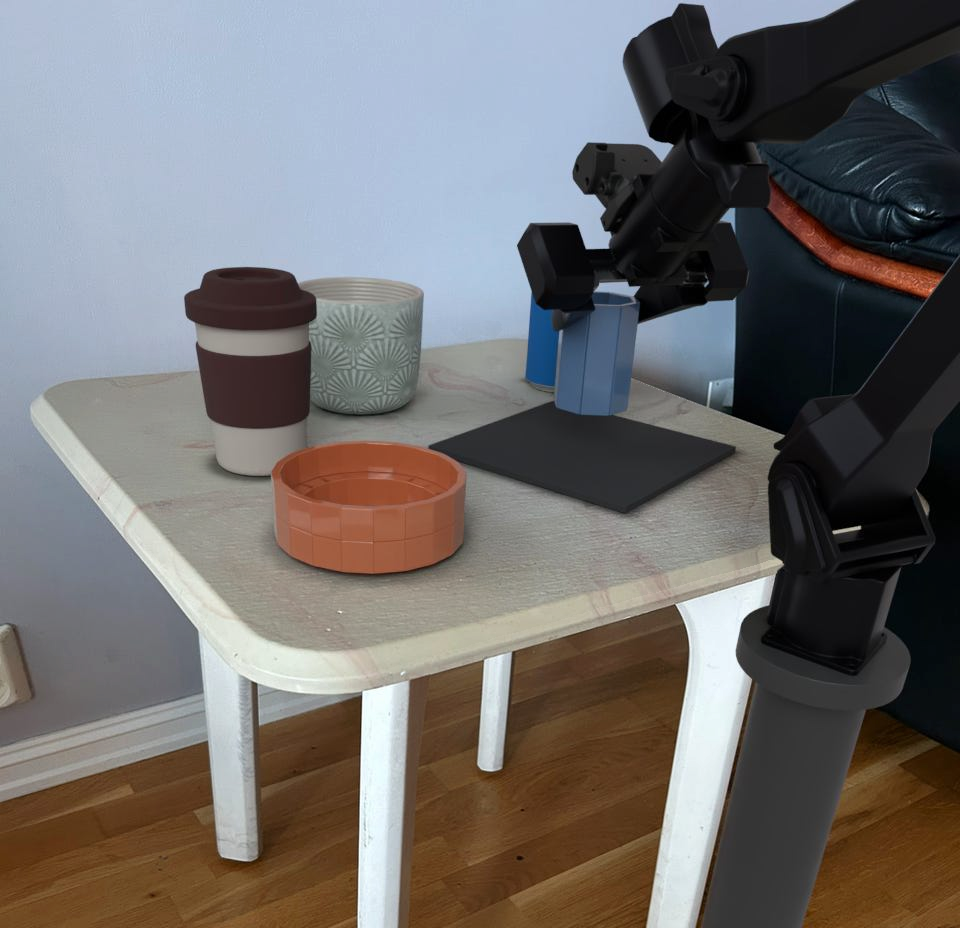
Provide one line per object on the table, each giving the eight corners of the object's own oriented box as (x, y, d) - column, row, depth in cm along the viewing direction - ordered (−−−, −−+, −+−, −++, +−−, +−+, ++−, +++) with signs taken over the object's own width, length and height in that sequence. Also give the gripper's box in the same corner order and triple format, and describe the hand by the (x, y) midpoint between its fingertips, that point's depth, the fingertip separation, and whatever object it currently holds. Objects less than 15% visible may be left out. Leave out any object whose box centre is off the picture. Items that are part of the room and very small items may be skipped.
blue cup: (630, 416, 84) (644, 307, 79) (558, 414, 83) (567, 303, 79) (619, 396, 89) (631, 292, 84) (551, 393, 89) (560, 289, 84)
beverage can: (585, 380, 109) (597, 266, 103) (583, 396, 104) (595, 277, 98) (527, 375, 110) (535, 262, 104) (522, 391, 104) (530, 272, 98)
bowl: (500, 537, 71) (504, 472, 69) (375, 600, 62) (375, 526, 59) (366, 490, 78) (365, 428, 75) (236, 540, 69) (230, 471, 66)
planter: (441, 416, 95) (444, 299, 90) (318, 428, 90) (313, 305, 85) (395, 382, 105) (395, 274, 100) (281, 391, 100) (275, 278, 95)
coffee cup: (340, 474, 81) (335, 282, 73) (221, 491, 76) (203, 289, 69) (297, 437, 88) (288, 260, 80) (186, 451, 84) (166, 265, 76)
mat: (735, 452, 90) (736, 446, 90) (625, 513, 76) (626, 506, 76) (554, 405, 100) (554, 399, 100) (428, 451, 86) (428, 445, 86)
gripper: (752, 108, 75) (652, 241, 89) (538, 98, 68) (465, 245, 82) (801, 233, 73) (690, 349, 87) (585, 237, 66) (502, 363, 80)
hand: (590, 324), depth 84 cm, fingers closed on blue cup, 6 cm apart
